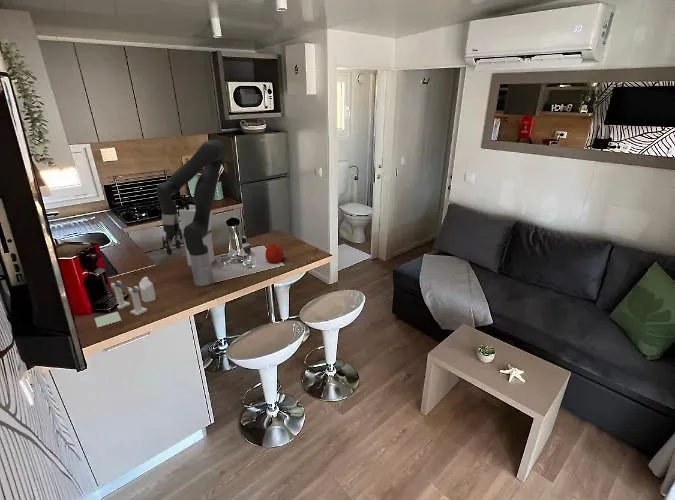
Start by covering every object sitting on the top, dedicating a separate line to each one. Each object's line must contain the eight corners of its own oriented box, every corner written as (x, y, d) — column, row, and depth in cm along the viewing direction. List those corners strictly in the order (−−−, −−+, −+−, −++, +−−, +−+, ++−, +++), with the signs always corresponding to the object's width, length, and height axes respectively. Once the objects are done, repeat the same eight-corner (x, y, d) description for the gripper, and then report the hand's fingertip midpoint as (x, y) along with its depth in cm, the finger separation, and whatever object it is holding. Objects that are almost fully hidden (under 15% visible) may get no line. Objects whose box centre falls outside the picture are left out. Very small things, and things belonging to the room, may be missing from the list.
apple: (287, 259, 218) (286, 243, 214) (275, 265, 210) (274, 249, 206) (273, 255, 224) (272, 239, 220) (261, 261, 215) (260, 245, 211)
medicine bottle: (243, 258, 220) (241, 240, 215) (234, 255, 223) (232, 237, 219) (251, 254, 225) (249, 236, 221) (243, 252, 229) (241, 234, 224)
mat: (118, 312, 162) (117, 311, 162) (121, 321, 156) (121, 320, 156) (94, 319, 157) (94, 318, 157) (97, 328, 151) (97, 327, 150)
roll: (135, 279, 166) (140, 274, 172) (140, 302, 171) (145, 296, 176) (148, 279, 167) (153, 274, 172) (153, 302, 171) (158, 296, 176)
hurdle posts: (113, 307, 167) (107, 283, 162) (123, 302, 171) (117, 279, 166) (137, 316, 160) (131, 291, 155) (147, 310, 164) (142, 287, 159)
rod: (113, 286, 164) (112, 283, 163) (116, 284, 165) (115, 282, 164) (136, 293, 157) (135, 290, 157) (138, 292, 159) (138, 289, 158)
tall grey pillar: (216, 262, 214) (208, 205, 200) (207, 270, 204) (198, 211, 191) (198, 261, 215) (189, 204, 202) (188, 268, 206) (178, 210, 192)
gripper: (170, 227, 172) (173, 257, 178) (185, 218, 185) (187, 247, 191) (155, 225, 172) (159, 256, 179) (171, 216, 185) (174, 245, 192)
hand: (174, 251), depth 185 cm, fingers open, 8 cm apart
